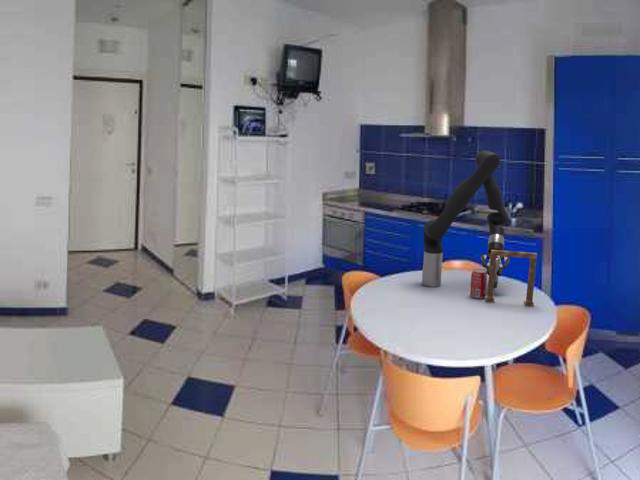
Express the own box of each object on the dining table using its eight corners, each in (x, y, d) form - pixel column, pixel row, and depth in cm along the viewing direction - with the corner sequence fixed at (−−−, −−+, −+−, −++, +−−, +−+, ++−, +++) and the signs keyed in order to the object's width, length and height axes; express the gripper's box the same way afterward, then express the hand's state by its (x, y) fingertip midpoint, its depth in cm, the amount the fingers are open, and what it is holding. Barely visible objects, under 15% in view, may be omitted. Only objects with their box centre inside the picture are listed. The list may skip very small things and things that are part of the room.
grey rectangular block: (487, 287, 254) (490, 259, 251) (487, 285, 259) (490, 257, 256) (497, 288, 253) (500, 260, 250) (497, 286, 257) (500, 258, 255)
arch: (485, 301, 244) (489, 251, 239) (485, 298, 249) (489, 249, 244) (533, 306, 238) (539, 255, 233) (533, 303, 242) (538, 252, 238)
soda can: (486, 299, 247) (488, 273, 244) (470, 298, 248) (472, 272, 246) (484, 295, 254) (486, 269, 251) (469, 294, 255) (471, 268, 252)
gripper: (481, 239, 261) (479, 269, 252) (512, 242, 257) (510, 272, 248) (480, 248, 267) (478, 277, 258) (510, 250, 263) (508, 280, 254)
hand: (494, 274), depth 253 cm, fingers closed on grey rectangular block, 4 cm apart
